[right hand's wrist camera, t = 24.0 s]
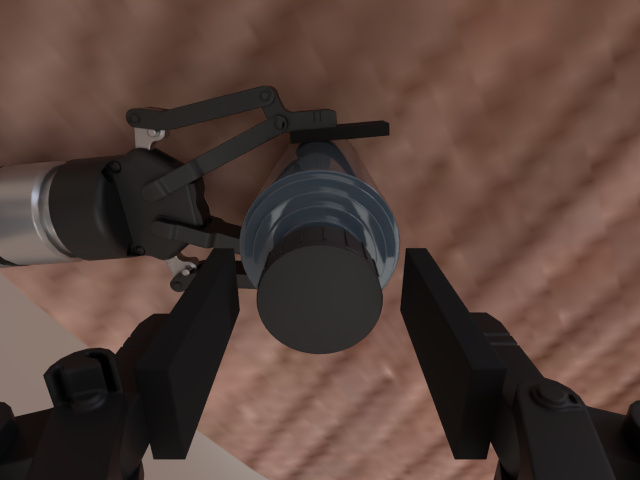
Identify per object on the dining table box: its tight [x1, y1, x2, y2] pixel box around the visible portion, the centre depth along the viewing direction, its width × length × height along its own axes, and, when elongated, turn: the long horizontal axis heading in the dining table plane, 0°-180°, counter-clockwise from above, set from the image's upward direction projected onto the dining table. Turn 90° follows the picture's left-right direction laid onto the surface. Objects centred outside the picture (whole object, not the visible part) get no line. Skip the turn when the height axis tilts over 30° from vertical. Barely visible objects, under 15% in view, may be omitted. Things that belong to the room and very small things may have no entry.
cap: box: [257, 225, 383, 354], centre depth 14 cm, size 4×4×2 cm
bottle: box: [240, 139, 400, 290], centre depth 23 cm, size 7×7×21 cm
